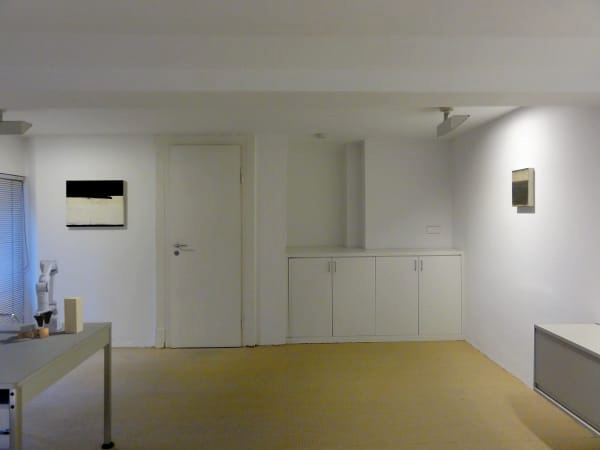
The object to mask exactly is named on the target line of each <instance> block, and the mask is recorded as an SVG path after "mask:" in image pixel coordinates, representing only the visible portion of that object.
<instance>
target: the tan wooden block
mask: <svg viewBox="0 0 600 450" xmlns="http://www.w3.org/2000/svg"><path fill="white" fill-rule="evenodd" d="M63 305H64V306H63V307H64V308H63V309H64V311H63V312H64V333H65V334H78V333H80V332H83V331H84V315H83V313H84V312H83V310H84V309H83V297H82V296H69V297H66V298H64V300H63Z"/></svg>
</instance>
